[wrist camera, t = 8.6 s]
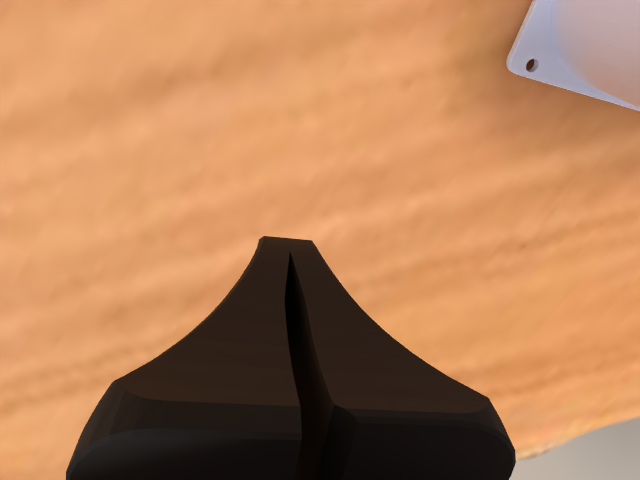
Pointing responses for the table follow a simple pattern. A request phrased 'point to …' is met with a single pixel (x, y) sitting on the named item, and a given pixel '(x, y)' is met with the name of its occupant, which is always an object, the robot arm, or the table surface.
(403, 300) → the table surface
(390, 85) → the table surface
